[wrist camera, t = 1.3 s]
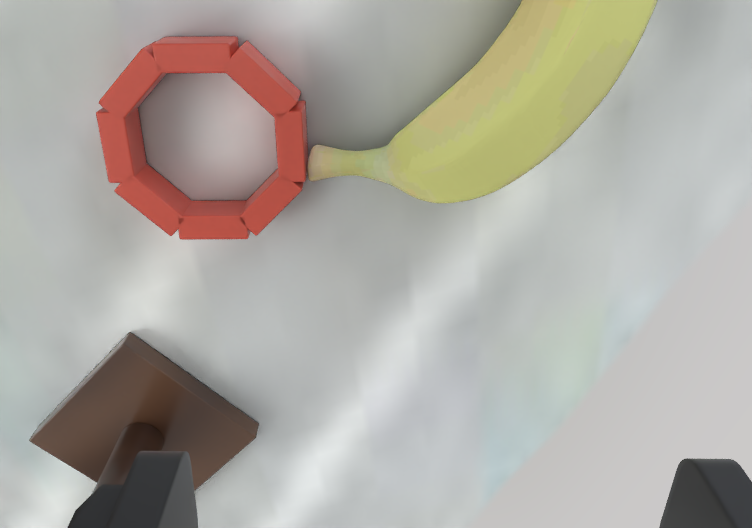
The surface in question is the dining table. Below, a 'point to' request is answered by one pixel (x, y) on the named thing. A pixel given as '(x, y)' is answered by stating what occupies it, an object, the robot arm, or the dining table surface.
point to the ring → (159, 194)
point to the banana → (505, 103)
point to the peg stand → (142, 418)
